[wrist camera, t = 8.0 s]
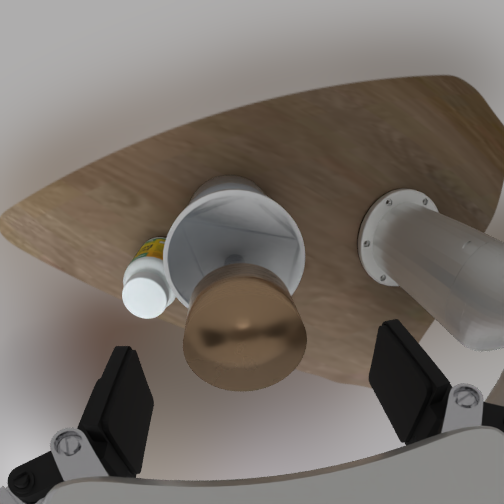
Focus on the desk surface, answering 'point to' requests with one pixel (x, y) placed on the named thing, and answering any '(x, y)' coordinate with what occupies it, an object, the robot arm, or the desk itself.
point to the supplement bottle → (147, 281)
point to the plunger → (243, 328)
